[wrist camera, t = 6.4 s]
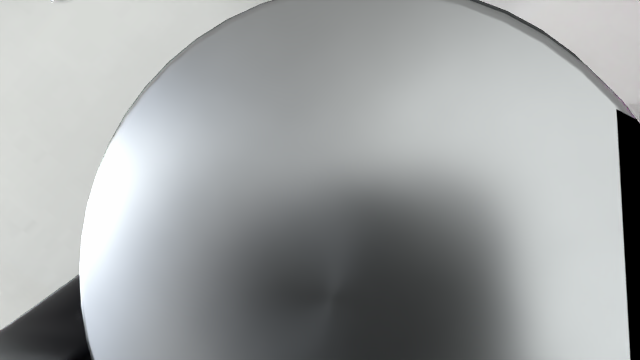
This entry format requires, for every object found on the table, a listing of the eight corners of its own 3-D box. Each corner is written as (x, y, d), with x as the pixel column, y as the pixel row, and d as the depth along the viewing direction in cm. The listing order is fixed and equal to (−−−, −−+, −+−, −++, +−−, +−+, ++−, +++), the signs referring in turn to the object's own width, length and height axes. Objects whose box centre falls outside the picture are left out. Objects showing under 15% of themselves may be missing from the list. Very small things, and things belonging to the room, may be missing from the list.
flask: (495, 211, 14) (1247, 506, 2) (377, 289, 15) (252, 835, 3) (406, 98, 14) (422, -329, 2) (299, 180, 16) (-90, 201, 3)
